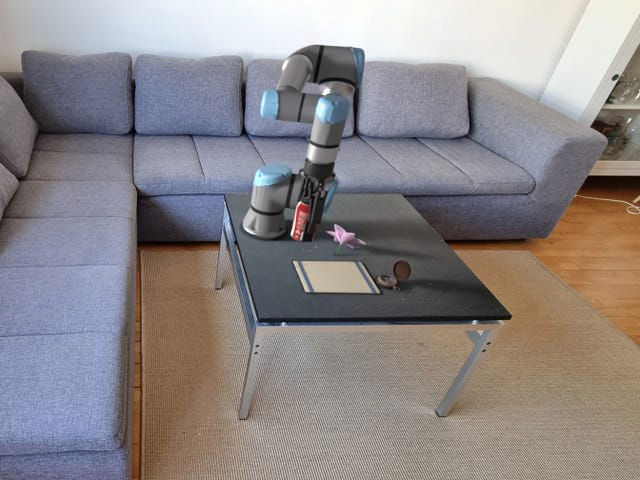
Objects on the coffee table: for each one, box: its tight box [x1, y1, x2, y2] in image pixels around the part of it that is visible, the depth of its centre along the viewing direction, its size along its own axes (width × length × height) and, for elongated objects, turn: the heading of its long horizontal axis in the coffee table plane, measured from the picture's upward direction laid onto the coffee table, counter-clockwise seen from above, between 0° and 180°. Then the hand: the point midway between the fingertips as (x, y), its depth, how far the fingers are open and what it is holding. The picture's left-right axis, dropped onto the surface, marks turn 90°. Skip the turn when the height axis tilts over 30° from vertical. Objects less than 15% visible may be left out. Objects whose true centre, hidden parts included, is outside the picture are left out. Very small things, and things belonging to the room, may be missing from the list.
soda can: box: [290, 197, 319, 243], centre depth 126 cm, size 7×7×12 cm
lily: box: [325, 223, 367, 256], centre depth 147 cm, size 12×12×10 cm
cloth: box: [292, 260, 381, 295], centre depth 137 cm, size 16×22×1 cm
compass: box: [375, 259, 412, 292], centre depth 132 cm, size 8×8×7 cm
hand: (302, 234), depth 129 cm, fingers closed on soda can, 7 cm apart
